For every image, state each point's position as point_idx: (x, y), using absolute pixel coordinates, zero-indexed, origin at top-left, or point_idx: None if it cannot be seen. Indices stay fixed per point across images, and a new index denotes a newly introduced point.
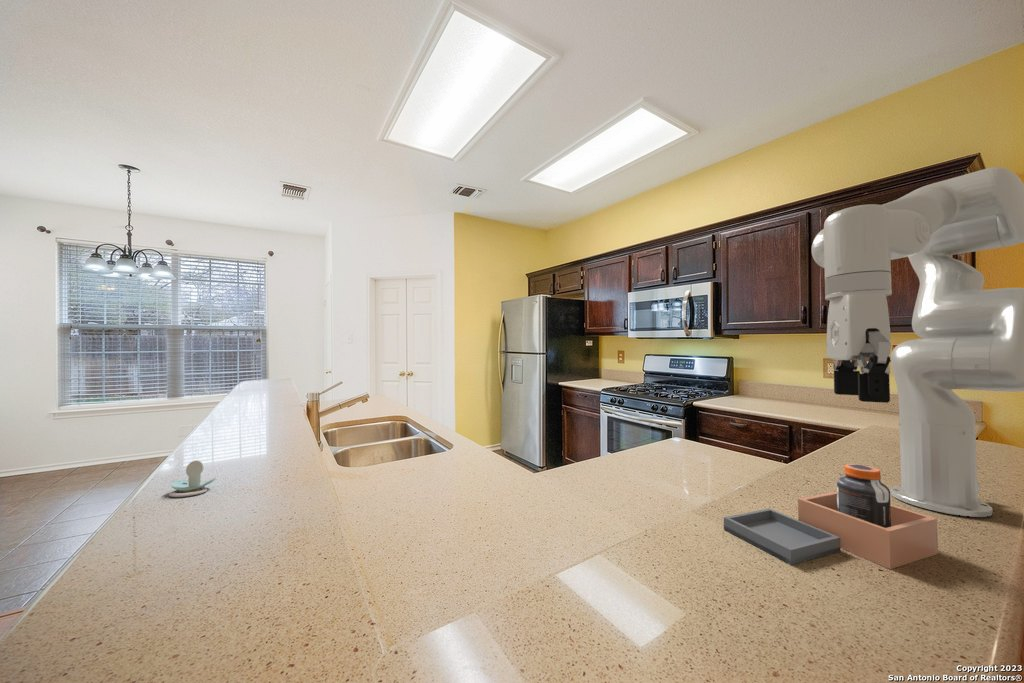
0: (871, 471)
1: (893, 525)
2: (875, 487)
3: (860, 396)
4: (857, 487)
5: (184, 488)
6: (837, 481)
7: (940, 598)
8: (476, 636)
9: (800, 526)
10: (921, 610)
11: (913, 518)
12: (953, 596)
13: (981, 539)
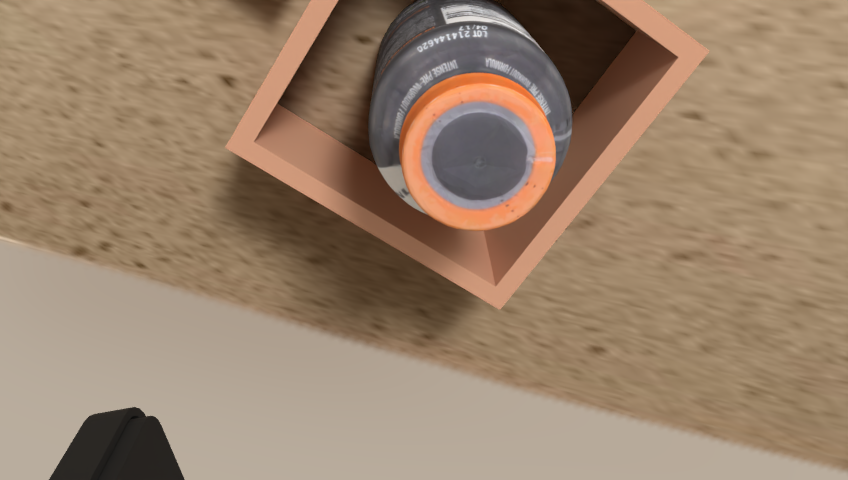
0: (410, 192)
1: None
2: (394, 175)
3: (78, 444)
4: (376, 104)
5: None
6: (471, 27)
7: (152, 190)
8: None
9: None
10: (35, 135)
11: (517, 246)
12: (192, 219)
13: (698, 377)
